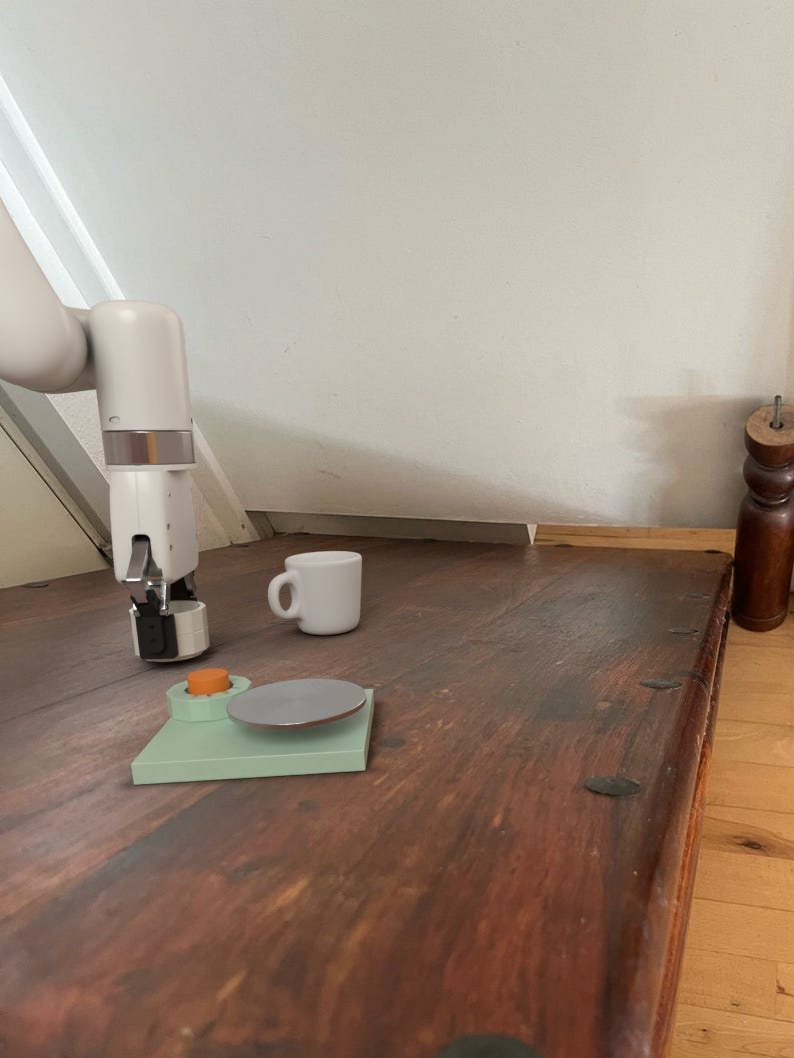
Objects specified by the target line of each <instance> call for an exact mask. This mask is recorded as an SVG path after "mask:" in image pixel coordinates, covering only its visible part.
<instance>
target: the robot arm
mask: <svg viewBox="0 0 794 1058" xmlns="http://www.w3.org/2000/svg"><path fill="white" fill-rule="evenodd" d="M187 360H188V359H187V350H186V340H185V331H184V324H183V321H182V319H181V317H180V314H179V313H178V312H177V311H176V310H175V309H173V308H172V307H170V306H168V305H166V304H163V303H160V302H154V301H147V300H139V299H138V300H137V299H111V300H103V301H100V302H97V303H95V304H93V306H92V307H91V308H89V309H88V308H87V309H86V308H80V307H71V306H69V305H68V306H67V305H65V304H64V303H63V302H62V300H61V299H60V297H59V296H58V294H57V292H56V291H55V289H54V288H53V286H52V284H51V283H50V281H49V279H48V277H47V276H46V274H45V273H44V271H43V268H42V267H41V266H40V264H39V263H38V260H37V259H36V258H35V256H34V255H33V252H32V251H31V249H30V247H29V246H28V244H27V242H26V241H25V239H24V237H23V236H22V234H21V231H20V230H19V229H18V226H17V224H16V223H15V222H14V219H13V218H12V216H11V214H10V212H9V210H8V209H7V207H6V205H5V203H4V201H3V198H2V197H1V196H0V380H1V381H4V382H6V383H8V384H11V385H13V386H18V387H20V388H22V389H26V390H30V391H31V392H35V393H39V394H45V395H61V394H62V395H63V394H70V393H79V392H86V391H95V392H96V393H95V394H96V400H97V401H96V402H97V408H98V417H99V424H100V431H101V439H102V448H103V456H104V464H105V471H107V472H110V475H109V519H110V520H109V521H110V533H111V534H110V535H111V545H112V546H111V547H112V548H111V549H112V558H113V559H112V560H113V570H114V578H115V580H116V581H117V583H118V584H119V585H121V586H126V587H127V590H128V591H129V593H130V595H129V599H130V600H131V602H132V608H133V614H134V616H135V621H136V629H137V637H138V646H139V654H140V656H139V657H140V659H141V660H144V661H147V660H149V659H174V658H176V657H177V656H178V646H177V637H176V628H175V619H174V614H169V610H170V601H175V600H186V601H197V602H198V597H197V594H198V593H197V591H198V590H197V584H196V581H195V578H194V576H195V572H196V571H195V569H197V567H198V565H199V540H198V530H197V523H196V515H195V509H194V500H193V495H192V488H191V482H190V477H189V471H191V470H198V463H197V454H196V453H197V451H196V442H195V433H194V423H193V421H194V420H193V412H192V402H191V393H190V392H191V390H190V381H189V369H188V361H187ZM148 577H150V578H153V577H154V578H158V577H159V578H160V579H148ZM156 590H159V596H158V593H157V592H156Z"/></svg>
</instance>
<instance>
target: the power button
mask: <svg viewBox="0 0 794 1058" xmlns="http://www.w3.org/2000/svg"><path fill="white" fill-rule="evenodd" d="M228 675H229V671H228V670H227V669H224V668H204V669H200V670H196V671H192V672H191V673H189V674H187V676H186V680H187V682H188V690H189V694H192V695H209V694H214V693H219V692H224V691H226V690H228V689H230V684H229V676H228Z"/></svg>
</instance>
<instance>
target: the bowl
mask: <svg viewBox="0 0 794 1058" xmlns="http://www.w3.org/2000/svg"><path fill="white" fill-rule="evenodd" d="M169 614H174V619H175V628H176V637H177V646H178V656H177V657H176V658H174V659H149V660H146V661H148V662H156V663H166V662H167V663H169V662H177V661H179V662H180V661H185V660H188V659H192V658H195V657H198V656H200V655H202V654H203V653H204V651H207V650H208V648H209V647H210V645H211V644H210V643H211V642H210V634H209V624H208V613H207V605H206V604H205V603H204V602H203V601H198V600H197V601H186V600H175V601H170V610H169ZM128 620H129V626H130V635H131V644H132V650H133V654H134V655H135V656H136V657H140V654H139V646H138V637H137V629H136V621H135V616H134V614H133V607H131V608H130V609H128Z"/></svg>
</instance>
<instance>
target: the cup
mask: <svg viewBox="0 0 794 1058" xmlns="http://www.w3.org/2000/svg"><path fill="white" fill-rule="evenodd" d="M362 562H363V557H362V555H361V554H360V553H358V552H355V551H344V550H343V551H342V550H328V551H313V552H303V553H298V554H294V555H291V556H288V557H286V558H285V559H284V567H285V572H282V573H280V574H278V575H276V576H275V577H273V579H272V580H271V581H270V582H269V585H268V589H267V600H268V604H269V607H270V609H271V611H272V613H273V615H275V617H277V618H279V619H281V620H294V619H295V621H296V624H297V626H298V628H299V629H300V631H301V632H303V633H306V634H309V635H314V636H331V635H339V634H343V633H347V632H350V631H352V630H354V629H355V628H356V627H357V626H358V624H359V622H360V618H361V617H360V616H361V604H362V603H361V599H362V573H363V571H362V570H363V569H362V568H363V567H362V566H363V565H362V564H363V563H362ZM284 585H287V586H288V587H289V593H290V597H291V601H290V602H291V603H290V606H289V608H288V609H287V610H284V609H283V607H282V605H281V601H280V591H281V588H282V587H283V586H284Z"/></svg>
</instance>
